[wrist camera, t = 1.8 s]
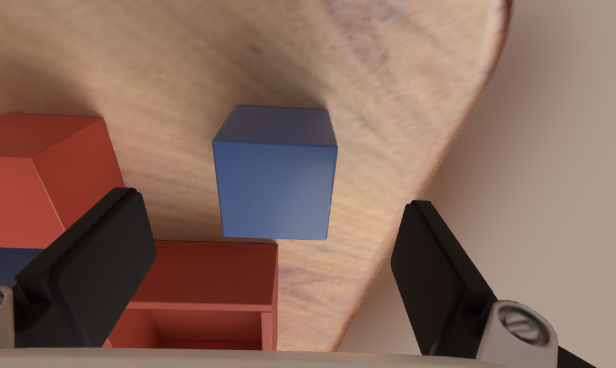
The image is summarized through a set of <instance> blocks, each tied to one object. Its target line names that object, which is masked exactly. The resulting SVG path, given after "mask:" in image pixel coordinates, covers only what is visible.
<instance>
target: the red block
mask: <svg viewBox="0 0 616 368" xmlns="http://www.w3.org/2000/svg"><path fill="white" fill-rule="evenodd" d="M115 187H125V186H124V183H123V180H122V177H121V173H120V170H119V167H118V164H117V161H116V157H115V154H114V151H113V148H112V144H111V141H110V138H109V135H108V132H107V128H106V125H105V122H104V119H103V118H98V117H79V116H60V115H40V114H21V113H6V114H3V115H0V247H5V248H38V249H46V248H47V247H48V246H49V245H50V244H51V243H52V242H54V241H55V240H56V239H57V238H58V237H59V236H60V235H61V234H62V233H64V232H65V231H66V230H67V229H68V228H69V227H70V226H71V225H73V224H74V223H75V222H76V221H77V220H78V219H79V218H80V217H82V216H83V215H84V214H85V213H86V212H87V211H88V210H89V209H90V208H92V207H93V206H94V205H95V204H96V203H97V202H98V201H99V200H101V199H102V198H103V197H104V196H105V195H106V194H107V193H108V192H110V191H111V190H112V189H113V188H115Z"/></svg>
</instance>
